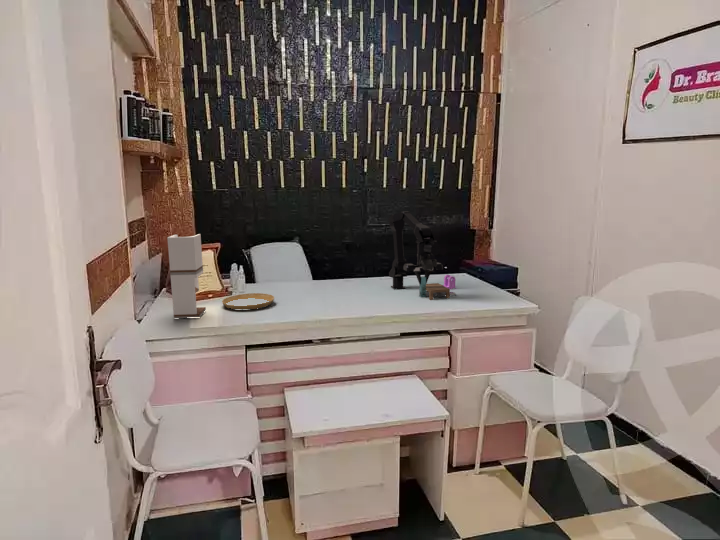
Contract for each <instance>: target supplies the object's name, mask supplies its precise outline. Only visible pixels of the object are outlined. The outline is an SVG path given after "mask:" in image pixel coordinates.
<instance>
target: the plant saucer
mask: <svg viewBox="0 0 720 540" xmlns="http://www.w3.org/2000/svg"><path fill="white" fill-rule="evenodd" d="M248 298H255V299H264V300H267V301H269V302H266V303H262V304H257V305H247V306H234V305H227V304H226V303H228V302H230V301H233V300H238V299H248ZM274 300H275V296H274V295H272V294H269V293H262V292H261V293H259V292H257V293H253V292H252V293H241V294H235V295H231V296H227V297H226V298H224V299H222V301H221V303H222V304H223V306H224V307H225V308H226V309H229V308H231V309H230V310H232V309H256V310H258V309H257V308H261V309H263V308H262V307H265V308H267V307H269V306H270V305H271V304H272V303H273V302H274ZM268 305H269V306H268ZM266 306H267V307H266Z"/></svg>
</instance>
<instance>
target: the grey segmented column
mask: <svg viewBox="0 0 720 540" xmlns="http://www.w3.org/2000/svg"><path fill="white" fill-rule="evenodd" d="M166 240H167V248H168V262H169V274H170V284H171V285H170V286H171V296H172V297H171V298H172V300H171V301H172V310H173V319H174V318H187V317H200V316H201V315H202V314H203V313H204V311H205V310H206V306H205V307H197V295H196V294H197V293H198V292H199V291H200V288H199V287H200V285H199V284H200V283H199V276H201V275H202V274H203V273H204V266H203V263H204V262H203V253H202V252H203V251H202V249H203V248H202V237H201V233H198V234H196V235H191V236H179V234H173V235H170V236H167V239H166ZM204 314H205V313H204ZM204 314H203V315H204ZM203 315H202V316H203Z"/></svg>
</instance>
